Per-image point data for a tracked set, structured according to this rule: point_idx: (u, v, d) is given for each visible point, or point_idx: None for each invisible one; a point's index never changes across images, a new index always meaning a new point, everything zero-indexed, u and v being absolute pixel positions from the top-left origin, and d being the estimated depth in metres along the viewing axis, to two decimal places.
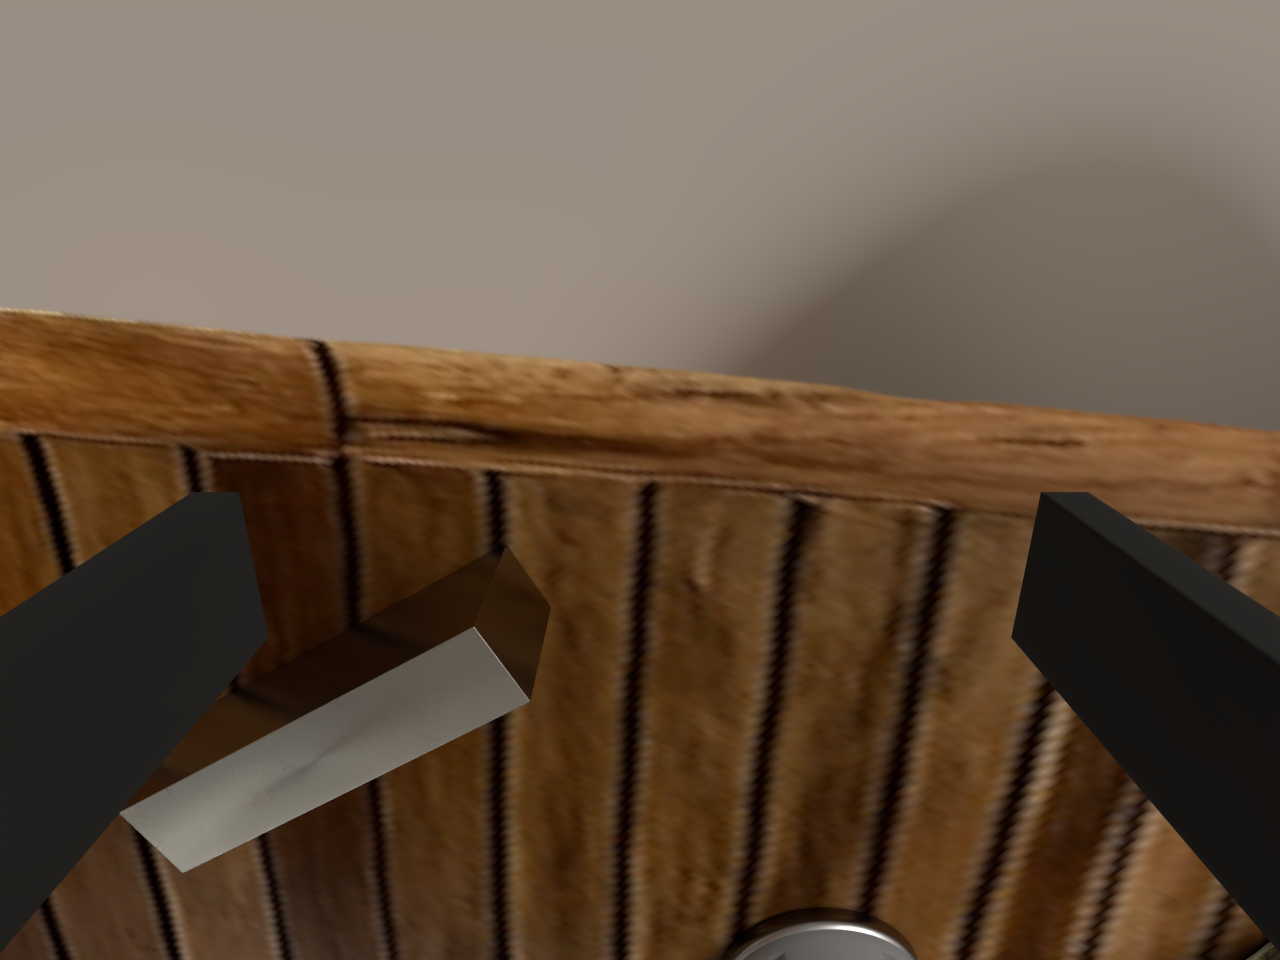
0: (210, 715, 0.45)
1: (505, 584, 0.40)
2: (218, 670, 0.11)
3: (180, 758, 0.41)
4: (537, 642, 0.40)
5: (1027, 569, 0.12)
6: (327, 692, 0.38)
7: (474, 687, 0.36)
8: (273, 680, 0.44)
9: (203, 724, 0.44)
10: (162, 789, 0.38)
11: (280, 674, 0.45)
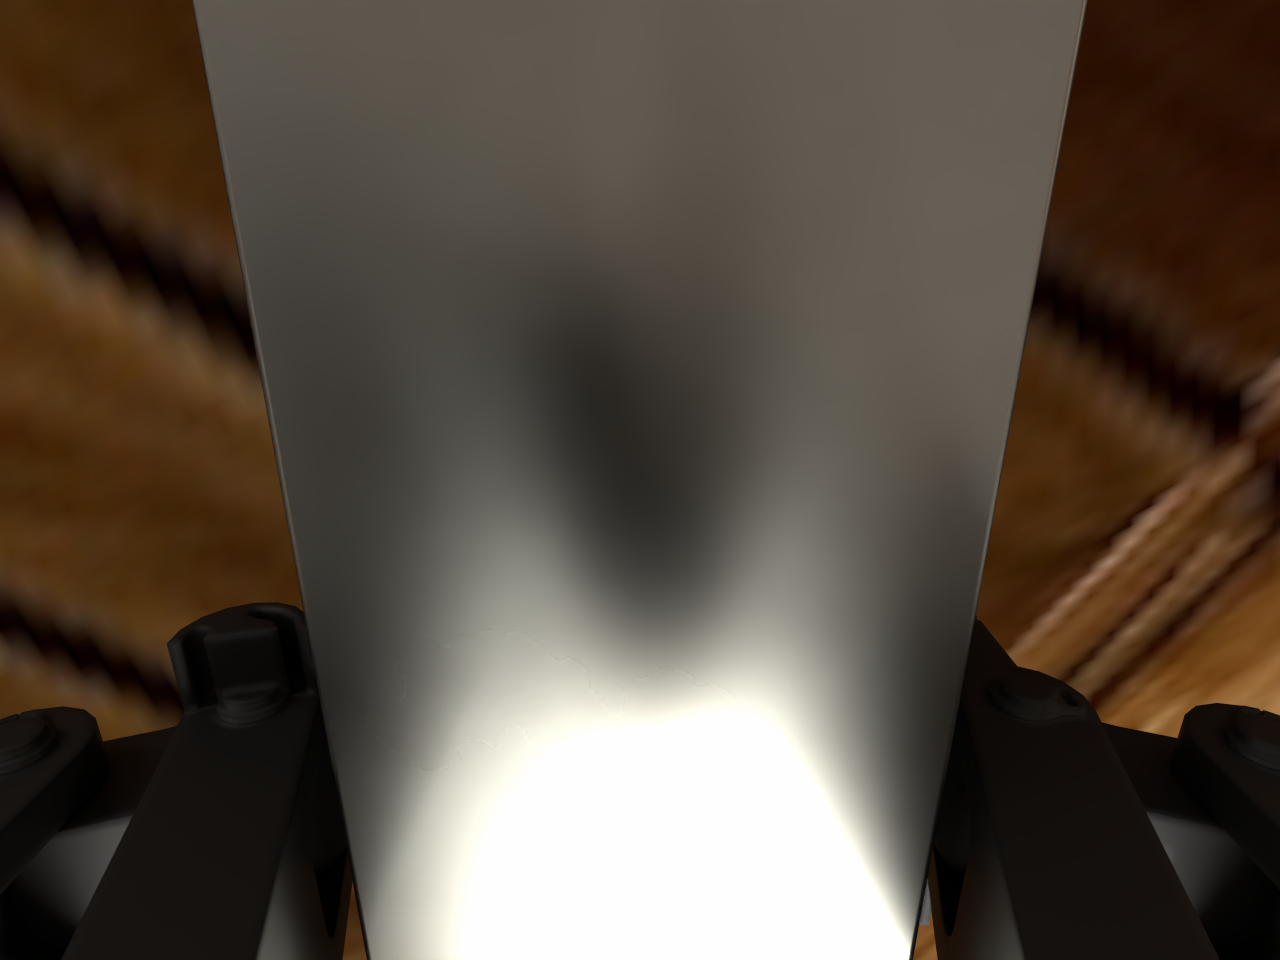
0: None
1: None
2: None
3: None
4: None
5: None
6: None
7: None
8: None
9: None
10: None
11: None
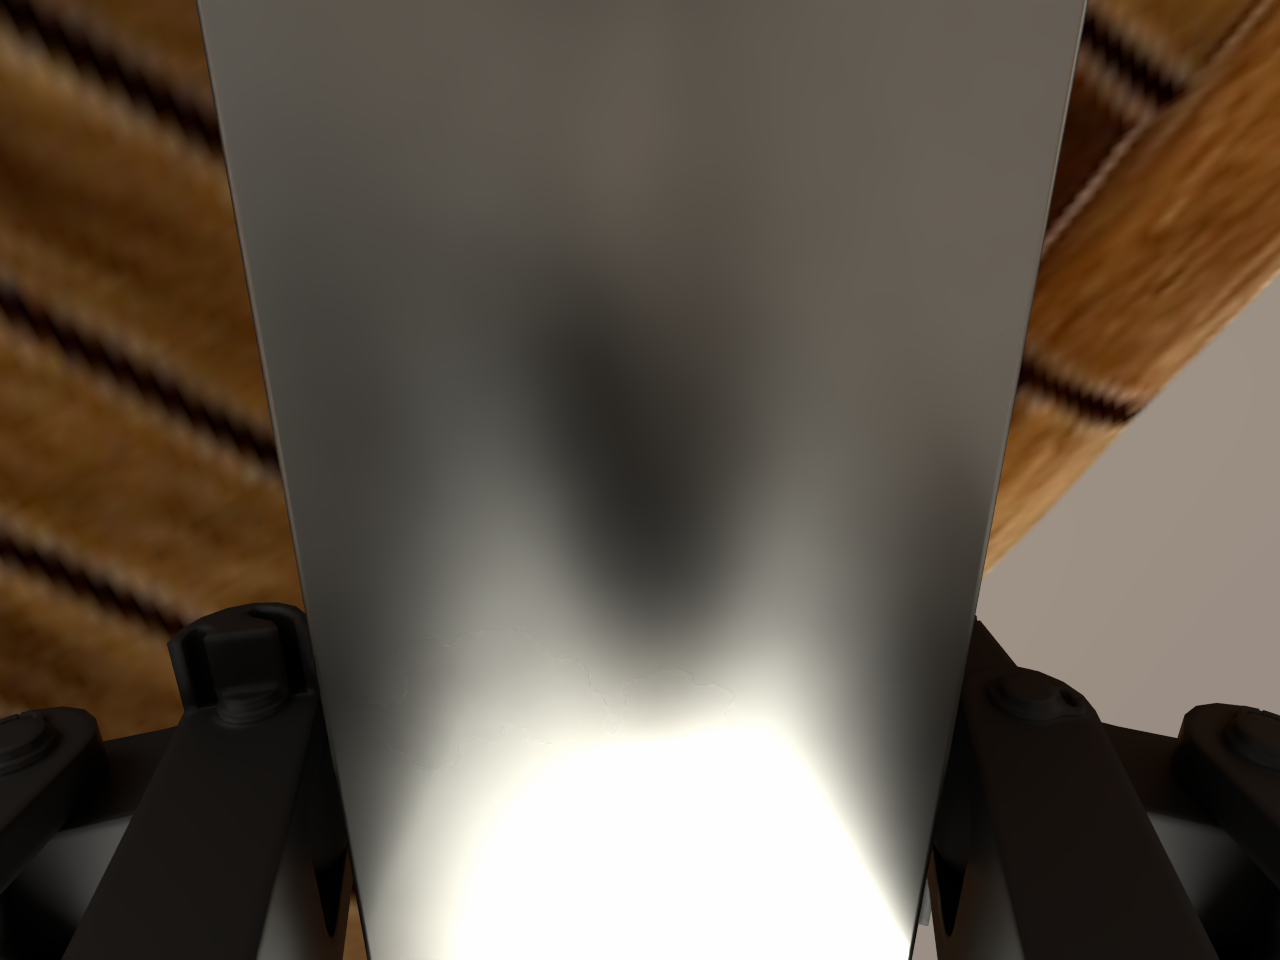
0: None
1: None
2: None
3: None
4: None
5: None
6: None
7: None
8: None
9: None
10: None
11: None
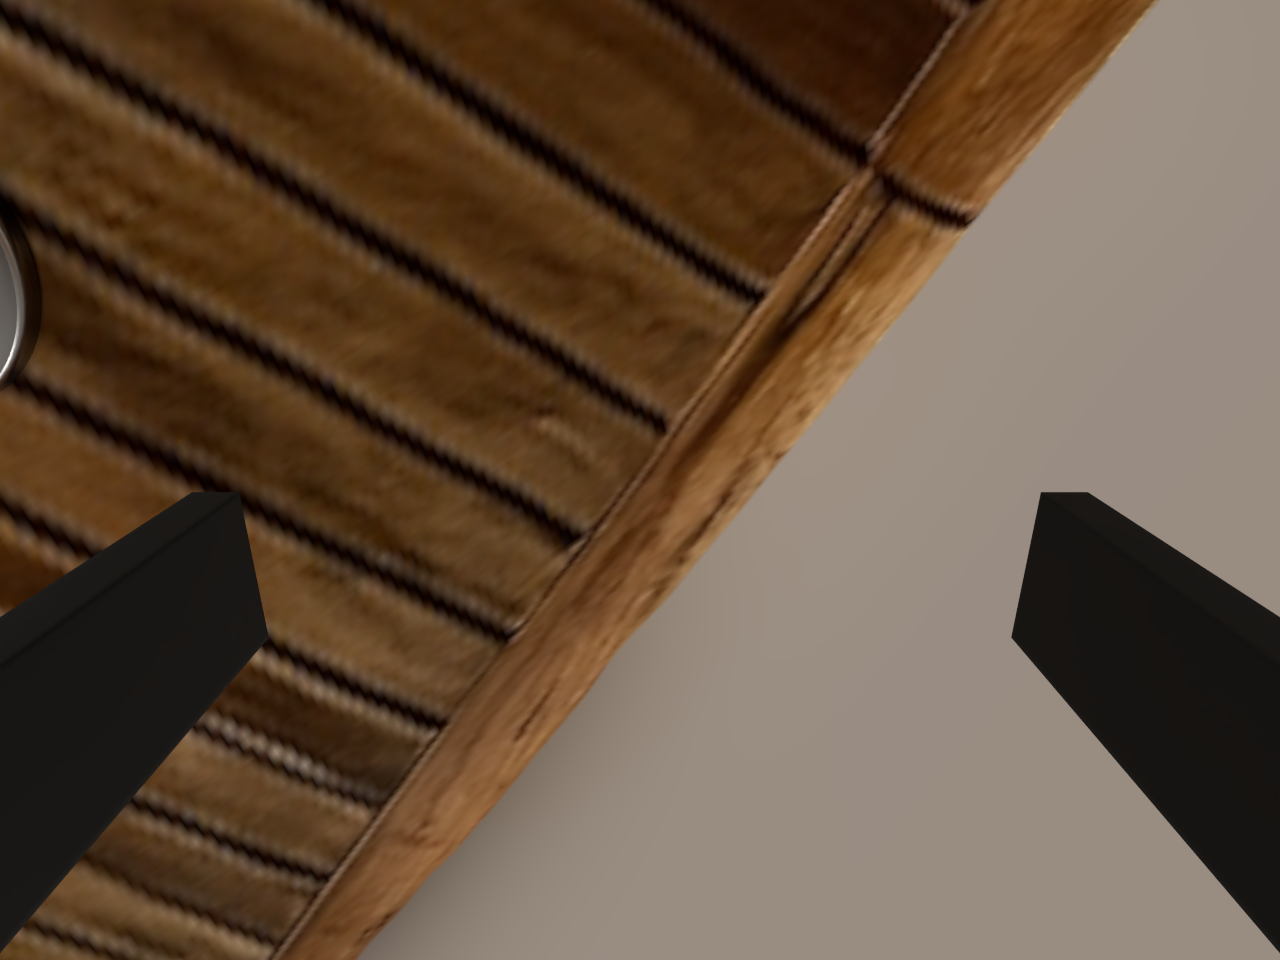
0: None
1: None
2: (217, 670, 0.11)
3: None
4: None
5: (1027, 569, 0.12)
6: None
7: None
8: None
9: None
10: None
11: None
